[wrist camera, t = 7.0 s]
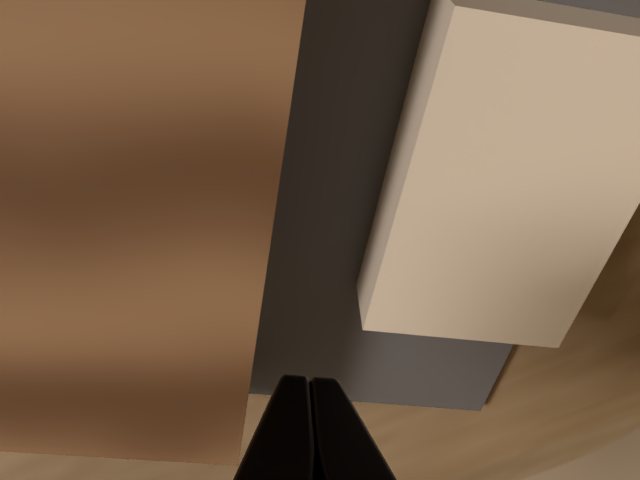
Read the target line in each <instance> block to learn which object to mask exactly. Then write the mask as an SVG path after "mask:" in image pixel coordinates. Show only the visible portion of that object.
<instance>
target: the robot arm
mask: <svg viewBox="0 0 640 480" xmlns="http://www.w3.org/2000/svg"><path fill="white" fill-rule="evenodd" d="M233 480H396V478H395V476H394V474H393V473H392V471H391V469H390V468H389V466H388V464H387V462H386V461H385V459H384V457H383V456H382V454H381V452H380V450H379V449H378V447H377V445H376V443H375V442H374V440H373V438H372V437H371V435H370V433H369V431H368V430H367V428H366V426H365V425H364V423H363V421H362V419H361V418H360V416H359V414H358V412H357V411H356V409H355V407H354V406H353V404H352V402H351V400H350V399H349V397H348V395H347V394H346V392H345V390H344V388H343V387H342V385H341V383H340V382H339V381H338V380H337V379H334V378H323V377H312V378H311V379H310V380H309V379H308V378H307V377H306V376H299V375H286V374H285V375H282V376H281V377H280V378H279V380H278V383H277V385H276V387H275V389H274V391H273V393H272V396H271V398H270V400H269V402H268V404H267V407H266V409H265V411H264V413H263V415H262V418H261V420H260V422H259V424H258V426H257V429H256V431H255V433H254V435H253V437H252V440H251V442H250V444H249V446H248V448H247V451H246V453H245V455H244V457H243V459H242V461H241V464H240V466H239V468H238V470H237V472H236V475H235V477H234V479H233Z"/></svg>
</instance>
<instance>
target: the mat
mask: <svg viewBox="0 0 640 480" xmlns="http://www.w3.org/2000/svg"><path fill="white" fill-rule="evenodd" d="M537 1H543V2H549V3H554V4H560V5H566V6H572V7H578V8H583V9H589V10H595V11H601V12H607V13H612V14H618V15H624V16H630V17H635V18H640V0H537ZM429 4H430V0H306V4H305V11H304V18H303V24H302V31H301V38H300V45H299V52H298V59H297V65H296V72H295V79H294V86H293V93H292V100H291V107H290V113H289V120H288V127H287V134H286V141H285V148H284V154H283V161H282V168H281V175H280V182H279V189H278V196H277V202H276V209H275V216H274V223H273V230H272V237H271V243H270V250H269V257H268V264H267V271H266V278H265V285H264V291H263V298H262V305H261V312H260V319H259V326H258V332H257V339H256V346H255V353H254V360H253V367H252V374H251V380H250V387H249V393H253V394H266V395H272V393H273V391H274V389H275V387H276V385H277V383H278V380H279V378H280V377H281V376H282V375H285V374H286V375H299V376H306V377H307V378H308V379H309V380H310V379H311V378H312V377H323V378H334V379H337V380H338V381H339V382H340V383H341V385H342V387H343V388H344V390H345V392H346V394H347V395H348V397H349V399H350V400H351V401H358V402H371V403H384V404H397V405H410V406H423V407H436V408H449V409H463V410H476V411H481V409H482V407H483V405H484V403H485V401H486V399H487V397H488V395H489V393H490V391H491V389H492V387H493V385H494V383H495V381H496V379H497V377H498V375H499V373H500V371H501V369H502V367H503V365H504V363H505V361H506V359H507V357H508V355H509V353H510V351H511V349H512V347H513V345H514V344H508V343H497V342H486V341H475V340H464V339H454V338H443V337H432V336H421V335H410V334H399V333H388V332H378V331H367V330H363V329H362V322H361V315H360V308H359V301H358V294H357V287H356V284H357V280H358V276H359V273H360V269H361V265H362V261H363V257H364V253H365V250H366V246H367V242H368V238H369V234H370V230H371V227H372V223H373V219H374V215H375V211H376V207H377V204H378V200H379V196H380V192H381V188H382V184H383V181H384V177H385V173H386V169H387V165H388V161H389V158H390V154H391V150H392V146H393V142H394V138H395V135H396V131H397V127H398V123H399V119H400V115H401V111H402V108H403V104H404V100H405V96H406V92H407V88H408V85H409V81H410V77H411V73H412V69H413V65H414V62H415V58H416V54H417V50H418V46H419V42H420V39H421V35H422V31H423V27H424V23H425V19H426V16H427V12H428V8H429Z"/></svg>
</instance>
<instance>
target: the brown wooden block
mask: <svg viewBox="0 0 640 480" xmlns="http://www.w3.org/2000/svg"><path fill="white" fill-rule="evenodd" d="M305 4H306V0H0V451H5V452H22V453H38V454H55V455H71V456H88V457H104V458H121V459H138V460H154V461H171V462H187V463H204V464H221V465H237V466H238V463H239V456H240V449H241V442H242V435H243V428H244V421H245V415H246V408H247V401H248V394H249V387H250V380H251V374H252V367H253V360H254V353H255V346H256V339H257V332H258V326H259V319H260V312H261V305H262V298H263V291H264V285H265V278H266V271H267V264H268V257H269V250H270V243H271V237H272V230H273V223H274V216H275V209H276V202H277V196H278V189H279V182H280V175H281V168H282V161H283V154H284V148H285V141H286V134H287V127H288V120H289V113H290V107H291V100H292V93H293V86H294V79H295V72H296V65H297V59H298V52H299V45H300V38H301V31H302V24H303V18H304V11H305Z"/></svg>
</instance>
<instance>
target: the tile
mask: <svg viewBox="0 0 640 480" xmlns="http://www.w3.org/2000/svg"><path fill="white" fill-rule="evenodd" d="M639 203H640V18H635V17H630V16H624V15H618V14H612V13H607V12H601V11H595V10H589V9H583V8H578V7H572V6H566V5H560V4H554V3H549V2H543V1H537V0H430V4H429V8H428V12H427V16H426V19H425V23H424V27H423V31H422V35H421V39H420V42H419V46H418V50H417V54H416V58H415V62H414V65H413V69H412V73H411V77H410V81H409V85H408V88H407V92H406V96H405V100H404V104H403V108H402V111H401V115H400V119H399V123H398V127H397V131H396V135H395V138H394V142H393V146H392V150H391V154H390V158H389V161H388V165H387V169H386V173H385V177H384V181H383V184H382V188H381V192H380V196H379V200H378V204H377V207H376V211H375V215H374V219H373V223H372V227H371V230H370V234H369V238H368V242H367V246H366V250H365V253H364V257H363V261H362V265H361V269H360V273H359V276H358V280H357V284H356V287H357V294H358V301H359V308H360V315H361V322H362V329H363V330H367V331H378V332H388V333H399V334H410V335H421V336H432V337H443V338H454V339H464V340H475V341H486V342H497V343H508V344H519V345H530V346H541V347H551V348H559V346H560V344H561V342H562V341H563V339H564V337H565V335H566V334H567V332H568V330H569V328H570V326H571V325H572V323H573V321H574V319H575V317H576V316H577V314H578V312H579V310H580V309H581V307H582V305H583V303H584V301H585V300H586V298H587V296H588V294H589V292H590V291H591V289H592V287H593V285H594V284H595V282H596V280H597V278H598V276H599V275H600V273H601V271H602V269H603V267H604V266H605V264H606V262H607V260H608V258H609V257H610V255H611V253H612V251H613V250H614V248H615V246H616V244H617V242H618V241H619V239H620V237H621V235H622V233H623V232H624V230H625V228H626V226H627V225H628V223H629V221H630V219H631V217H632V216H633V214H634V212H635V210H636V208H637V207H638V205H639Z"/></svg>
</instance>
